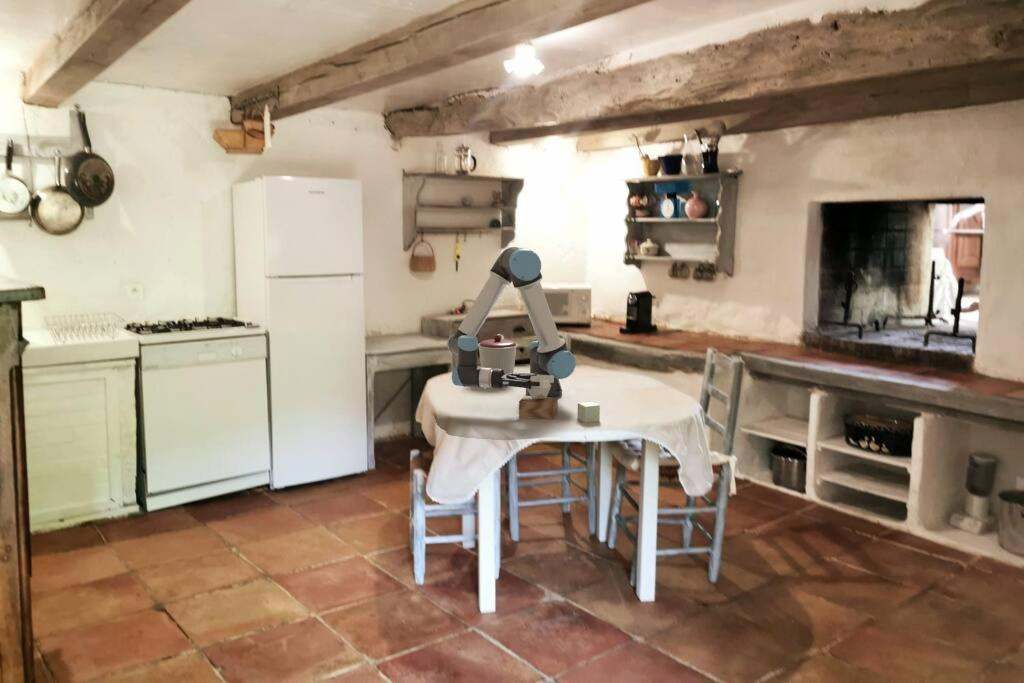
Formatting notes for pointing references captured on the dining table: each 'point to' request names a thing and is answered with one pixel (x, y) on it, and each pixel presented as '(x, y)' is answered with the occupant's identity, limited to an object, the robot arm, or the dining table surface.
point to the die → (538, 389)
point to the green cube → (588, 411)
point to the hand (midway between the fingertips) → (551, 381)
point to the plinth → (538, 407)
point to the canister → (498, 354)
